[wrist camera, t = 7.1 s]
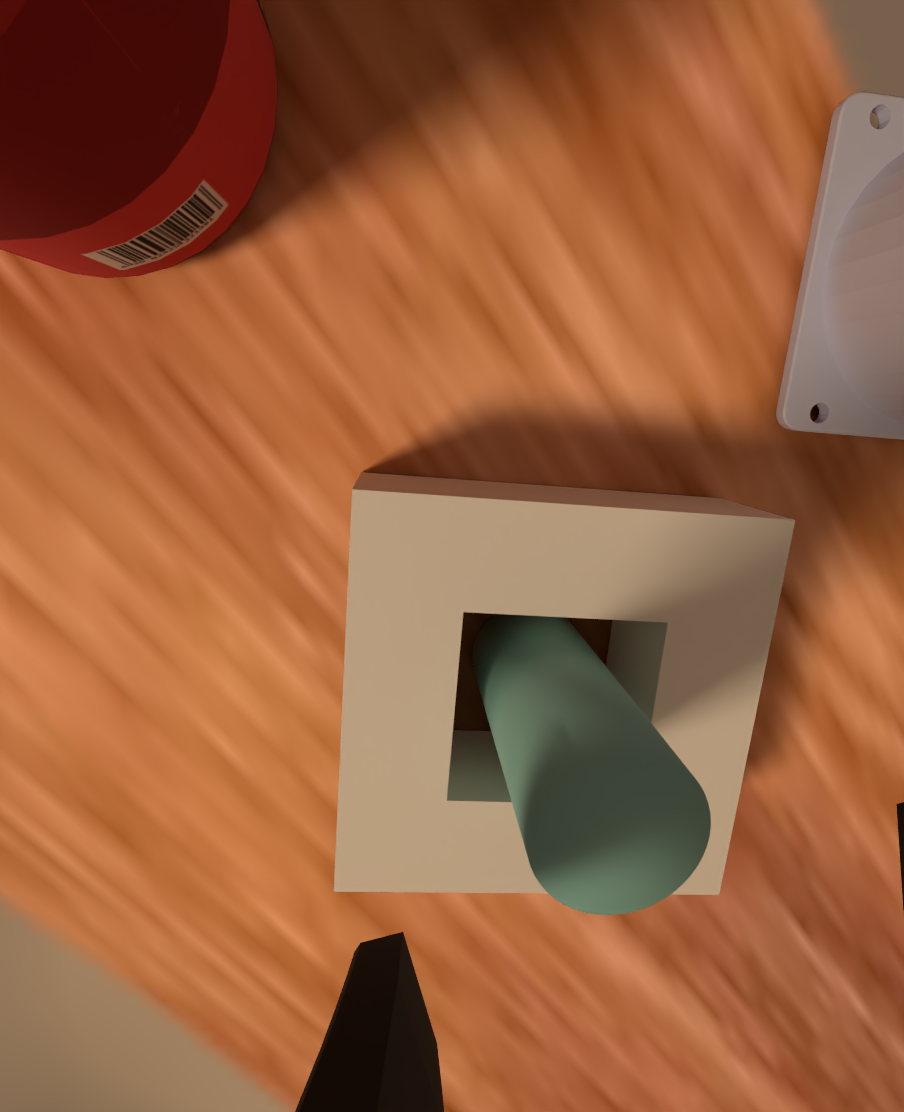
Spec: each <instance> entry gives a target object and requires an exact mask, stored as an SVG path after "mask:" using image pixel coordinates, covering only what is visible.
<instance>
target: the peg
mask: <svg viewBox="0 0 904 1112" xmlns="http://www.w3.org/2000/svg"><path fill="white" fill-rule="evenodd" d="M472 664H473V669H474V673H475V676H476V680H477V683H478V687H479V690H480V694H481V697H482V701H483V704H484V707H485V711H486V714H487V718H488V721H489V725H490V728H491V732H492V735H493V739H494V742H495V746H496V749H497V753H498V756H499V759H500V763H501V766H502V770H503V773H504V777H505V780H506V784H507V787H508V791H509V794H510V798H511V801H512V804H513V808H514V811H515V815H516V818H517V822H518V825H519V829H520V832H521V836H522V839H523V843H524V846H525V850H526V853H527V856H528V860H529V863H530V867H531V869H532V871H533V873H534V876H535V877H536V879H537V880H538V882H539V883H540V885H541V886H542V887H543V888H544V889H545V890H546V892H547V893H549V894H550V895H551V896H552V897H553V898H555V899H556V900H557V901H559V902H561V903H562V904H564V905H566V906H568V907H570V908H573V909H575V910H578V911H582V912H585V913H591V914H597V915H617V914H624V913H630V912H634V911H637V910H641V909H644V908H646V907H649V906H651V905H654V904H655V903H657V902H659V901H661V900H663V899H665V898H666V897H667V896H669V895H670V894H672V893H673V892H675V891H676V890H677V889H678V888H679V887H680V886H681V885H683V884H684V882H685V881H686V880H687V879H688V878H689V877H690V876H691V875H692V873H693V872H694V870H695V869H696V868H697V866H698V865H699V863H700V861H701V859H702V857H703V855H704V853H705V850H706V848H707V845H708V841H709V837H710V829H711V814H710V809H709V804H708V801H707V798H706V795H705V793H704V791H703V789H702V787H701V785H700V784H699V783H698V781H697V780H696V779H695V777H694V776H693V775H692V774H691V772H690V771H689V770H688V769H687V767H686V766H685V765H684V764H683V762H682V761H681V760H680V758H679V757H678V756H677V755H676V753H675V752H674V751H673V750H672V748H671V747H670V746H669V745H668V743H667V742H666V741H665V740H664V738H663V737H662V736H661V735H660V733H659V732H658V731H657V730H656V728H655V727H654V726H653V725H652V723H651V722H650V721H649V720H648V718H647V717H646V716H645V715H644V713H643V712H642V711H641V710H640V708H639V707H638V706H637V705H636V703H635V702H634V701H633V700H632V698H631V697H630V696H629V695H628V693H627V692H626V691H625V690H624V688H623V687H622V686H621V685H620V683H619V682H618V681H617V680H616V678H615V677H614V676H613V675H612V673H611V672H610V671H609V670H608V668H607V667H606V666H605V665H604V663H603V662H602V661H601V660H600V658H599V657H598V656H597V655H596V653H595V652H594V651H593V650H592V648H591V647H590V646H589V645H588V643H587V642H586V641H585V640H584V638H583V637H582V636H581V634H580V633H579V632H578V631H577V629H576V628H575V627H574V626H573V624H572V623H571V622H570V621H569V620H568V619H567V618H566V617H548V616H528V615H509V614H495V615H494V616H492V617H491V618H490V619H489V620H488V621H487V622H486V623H485V624H484V626H483V627H482V628H481V630H480V631H479V633H478V635H477V637H476V640H475V643H474V646H473V652H472Z"/></svg>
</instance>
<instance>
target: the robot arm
mask: <svg viewBox="0 0 904 1112" xmlns="http://www.w3.org/2000/svg"><path fill="white" fill-rule="evenodd" d="M871 112H873V113H875V114H876V115H877V117H878V120H879V125H878V128H877V129H876V128H874V127H873V126H872V125H871V123H870V114H871ZM815 405H817V406H818V407H819V416H818V418H817V419H816V420H815V421H814V422H813V421H812V420H811V418H810V411H811V409H812V407H813V406H815ZM776 417H777V420H778V422H779V424H780V425H781V426H782V427H783V428H785V429H788V430H793V431H805V432H817V433H829V434H841V435H852V436H864V437H876V438H888V439H900V440H904V97H898V96H891V95H885V94H877V93H870V92H856V93H855V94H853V95H851V96H849V97H848V98H846V99H845V100H843V101H842V102H841V103H840V104H839V105H838V106H837V108H836V109H835V111H834V114H833V116H832V120H831V126H830V131H829V136H828V141H827V147H826V152H825V157H824V162H823V168H822V173H821V178H820V184H819V189H818V194H817V199H816V205H815V210H814V215H813V220H812V226H811V231H810V236H809V241H808V247H807V252H806V257H805V263H804V268H803V273H802V278H801V284H800V289H799V294H798V299H797V305H796V310H795V315H794V320H793V326H792V331H791V336H790V341H789V347H788V352H787V357H786V363H785V368H784V373H783V378H782V384H781V389H780V394H779V399H778V405H777V410H776ZM897 817H898V832H899V848H900V863H901V879H902V894H903V909H904V802H903V803H899V804H897ZM295 1112H444V1106H443V1095H442V1086H441V1077H440V1067H439V1058H438V1049H437V1042H436V1039H435V1036H434V1032H433V1029H432V1026H431V1023H430V1019H429V1016H428V1013H427V1009H426V1006H425V1003H424V1000H423V996H422V993H421V990H420V986H419V983H418V980H417V977H416V973H415V970H414V967H413V963H412V960H411V957H410V954H409V950H408V947H407V944H406V940H405V937H404V934H403V932H401V933H397V934H393V935H389V936H386V937H382V938H378V939H374V940H370V941H366V942H362V943H360V945H359V946H358V948H357V949H356V951H355V952H354V955H353V959H352V962H351V965H350V968H349V971H348V974H347V977H346V980H345V983H344V986H343V989H342V992H341V994H340V997H339V1000H338V1003H337V1006H336V1009H335V1011H334V1014H333V1017H332V1020H331V1022H330V1025H329V1028H328V1030H327V1033H326V1036H325V1038H324V1041H323V1044H322V1046H321V1049H320V1051H319V1054H318V1056H317V1059H316V1061H315V1064H314V1066H313V1069H312V1071H311V1074H310V1076H309V1079H308V1081H307V1084H306V1086H305V1089H304V1091H303V1094H302V1096H301V1098H300V1101H299V1103H298V1106H297V1108H296V1111H295Z"/></svg>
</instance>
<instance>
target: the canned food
mask: <svg viewBox="0 0 904 1112" xmlns="http://www.w3.org/2000/svg"><path fill="white" fill-rule="evenodd" d="M277 95H278V88H277V76H276V64H275V52H274V47H273V43H272V39H271V36H270V32H269V28H268V24H267V20H266V16H265V12H264V9H263V6H262V3H261V0H0V249H1V250H4V251H7V252H10V253H13V254H16V255H19V256H22V257H25V258H28V259H31V260H34V261H37V262H40V263H43V264H46V265H49V266H52V267H55V268H58V269H61V270H64V271H67V272H70V273H74V274H81V275H88V276H96V277H103V278H113V277H128V276H140V275H144V274H147V273H151V272H154V271H158V270H161V269H165V268H168V267H172V266H174V265H176V264H178V263H180V262H182V261H183V260H185V259H187V258H189V257H191V256H193V255H195V254H196V253H198V252H200V251H202V250H204V249H206V248H207V247H208V246H209V245H210V244H211V243H213V242H214V241H215V240H216V239H217V238H218V237H220V236H221V235H222V234H223V233H224V232H225V231H227V230H228V229H229V228H230V226H231V225H232V224H233V222H234V221H235V220H236V219H237V217H238V216H239V215H240V213H241V212H242V211H243V209H244V208H245V207H246V206H247V204H248V202H249V200H250V198H251V196H252V194H253V192H254V190H255V188H256V186H257V184H258V182H259V180H260V178H261V176H262V174H263V170H264V167H265V163H266V160H267V156H268V152H269V149H270V145H271V141H272V138H273V134H274V128H275V117H276V106H277Z"/></svg>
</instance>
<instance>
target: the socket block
mask: <svg viewBox="0 0 904 1112" xmlns="http://www.w3.org/2000/svg"><path fill="white" fill-rule="evenodd" d="M794 525H795V520H794V519H790V518H787V517H783V516H780V515H777V514H773V513H770V512H766V511H763V510H759V509H756V508H753V507H749V506H746V505H742V504H739V503H736V502H732V501H729V500H725V499H722V498H712V497H699V496H685V495H671V494H657V493H643V492H629V491H615V490H601V489H587V488H574V487H560V486H546V485H532V484H518V483H504V482H490V481H476V480H462V479H449V478H435V477H421V476H407V475H393V474H379V473H365V472H361V474H360V476H359V478H358V480H357V481H356V483H355V485H354V487H353V489H352V506H351V528H350V550H349V572H348V594H347V615H346V637H345V659H344V681H343V703H342V725H341V746H340V768H339V790H338V812H337V834H336V856H335V878H334V892H453V893H547V892H546V890H545V889H544V888H543V887H542V886H541V885H540V883H539V882H538V880H537V879H536V877H535V876H534V873H533V871H532V869H531V867H530V863H529V860H528V856H527V853H526V850H525V846H524V843H523V839H522V836H521V832H520V829H519V825H518V822H517V818H516V815H515V811H514V808H513V804H512V801H511V798H510V794H509V791H508V787H507V784H506V780H505V777H504V773H503V770H502V766H501V763H500V759H499V756H498V753H497V749H496V746H495V742H494V739H493V735H492V732H491V731H470V730H453V724H454V712H455V701H456V690H457V679H458V667H459V656H460V645H461V634H462V622H463V612H470V613H490V614H509V615H528V616H548V617H567V618H587V619H606V620H612V626H611V633H610V640H609V647H608V654H607V661H606V667H607V668H608V670H609V671H610V672H611V673H612V675H613V676H614V677H615V678H616V680H617V681H618V682H619V683H620V685H621V686H622V687H623V688H624V690H625V691H626V692H627V693H628V695H629V696H630V697H631V698H632V700H633V701H634V702H635V703H636V705H637V706H638V707H639V708H640V710H641V711H642V712H643V713H644V715H645V716H646V717H647V718H648V720H649V721H650V722H651V723H652V725H653V726H654V727H655V728H656V730H657V731H658V732H659V733H660V735H661V736H662V737H663V738H664V740H665V741H666V742H667V743H668V745H669V746H670V747H671V748H672V750H673V751H674V752H675V753H676V755H677V756H678V757H679V758H680V760H681V761H682V762H683V764H684V765H685V766H686V767H687V769H688V770H689V771H690V772H691V774H692V775H693V776H694V777H695V779H696V780H697V781H698V783H699V784H700V785H701V787H702V789H703V791H704V793H705V795H706V798H707V801H708V804H709V809H710V814H711V829H710V837H709V841H708V845H707V848H706V850H705V853H704V855H703V857H702V859H701V861H700V863H699V865H698V866H697V868H696V869H695V870H694V872H693V873H692V875H691V876H690V877H689V878H688V879H687V880H686V881H685V882H684V884H683V885H681V886H680V887H679V888H678V889H677V890H676V891H675V892H673V893H672V894H692V895H719V893H720V888H721V883H722V878H723V873H724V868H725V863H726V858H727V853H728V849H729V844H730V839H731V834H732V829H733V824H734V819H735V814H736V809H737V804H738V800H739V795H740V790H741V785H742V780H743V775H744V770H745V765H746V760H747V755H748V751H749V746H750V741H751V736H752V731H753V726H754V721H755V716H756V711H757V706H758V702H759V697H760V692H761V687H762V682H763V677H764V672H765V667H766V662H767V657H768V653H769V648H770V643H771V638H772V633H773V628H774V623H775V618H776V613H777V609H778V604H779V599H780V594H781V589H782V584H783V579H784V574H785V569H786V564H787V560H788V555H789V550H790V545H791V540H792V535H793V530H794Z"/></svg>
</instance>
